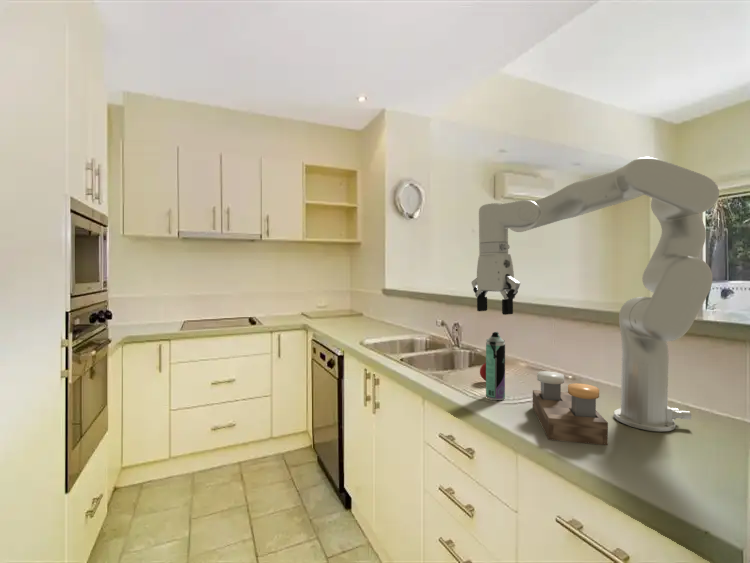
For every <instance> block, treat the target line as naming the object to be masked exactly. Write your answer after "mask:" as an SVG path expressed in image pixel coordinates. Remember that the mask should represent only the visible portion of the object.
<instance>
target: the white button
mask: <svg viewBox="0 0 750 563" xmlns="http://www.w3.org/2000/svg"><path fill="white" fill-rule="evenodd" d="M536 377H537V378H536V380H537V381H538V382H540V391H541V398H542V400H556V401H561V392H562V391H561V390H562V389H561V388H562V386H561V385H562V384H564V383H565V375H564V374H563V373H560V372H556V371H549V370H548V371H547V370H543V371H542V370H541V371H537V374H536Z"/></svg>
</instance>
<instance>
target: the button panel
mask: <svg viewBox="0 0 750 563" xmlns="http://www.w3.org/2000/svg"><path fill="white" fill-rule="evenodd" d="M571 401H572V395H570V394H569V393H568V391H566V392H565V391H561V401H556V400H542V398H541V390H537V389H536V390H535V389H532V409H533V411H534V413H535V415H536V418H537V420H538V421H539V424H540V425H541V427H542V429H543V431H544V433H545V435H546V437H547V439H548V440H549V441H557V440H558V441H560V442H568V443H569V442H570V443H580V444H590V445H591V444H592V445H602V446H603V445H604V446H608V444H609V442H608V441H609V440H608V439H609V423H608V421H607V420H606V419H605V417H603V416H602V414H600V412H598V410H596V418H593V417H580V416H574V415H573V413H572V412H571Z"/></svg>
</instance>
